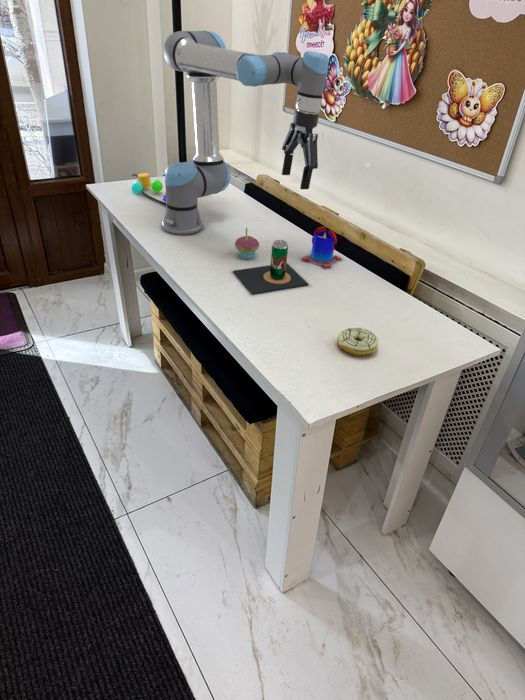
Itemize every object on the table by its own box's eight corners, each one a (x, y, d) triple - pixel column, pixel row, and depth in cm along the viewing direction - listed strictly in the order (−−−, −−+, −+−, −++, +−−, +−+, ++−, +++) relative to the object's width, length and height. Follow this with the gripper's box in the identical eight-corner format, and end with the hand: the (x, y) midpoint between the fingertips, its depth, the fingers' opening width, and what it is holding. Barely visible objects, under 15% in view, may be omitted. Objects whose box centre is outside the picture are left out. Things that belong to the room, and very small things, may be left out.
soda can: (286, 275, 168) (290, 241, 161) (282, 281, 164) (285, 247, 157) (272, 272, 169) (275, 238, 162) (267, 278, 165) (270, 244, 158)
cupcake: (255, 263, 175) (257, 230, 168) (231, 259, 177) (232, 226, 170) (260, 253, 182) (262, 221, 175) (237, 249, 183) (238, 217, 176)
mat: (233, 272, 169) (233, 269, 168) (286, 264, 176) (286, 262, 176) (251, 294, 157) (252, 292, 157) (308, 285, 165) (308, 283, 164)
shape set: (133, 188, 235) (130, 172, 230) (208, 182, 239) (207, 166, 235) (131, 211, 211) (128, 193, 207) (214, 204, 216) (213, 187, 212)
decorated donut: (340, 332, 143) (343, 321, 141) (378, 341, 141) (381, 329, 138) (333, 352, 135) (335, 340, 133) (373, 361, 132) (376, 350, 130)
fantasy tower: (343, 258, 183) (348, 227, 176) (328, 269, 175) (333, 237, 168) (314, 249, 188) (319, 218, 181) (299, 260, 180) (302, 227, 173)
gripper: (278, 101, 160) (268, 169, 172) (315, 121, 142) (302, 195, 154) (299, 102, 163) (288, 169, 175) (338, 122, 145) (323, 195, 157)
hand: (294, 181), depth 165 cm, fingers open, 13 cm apart
